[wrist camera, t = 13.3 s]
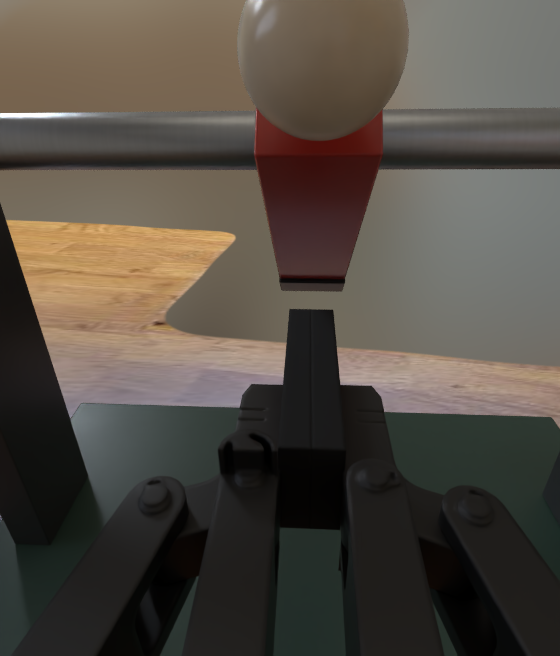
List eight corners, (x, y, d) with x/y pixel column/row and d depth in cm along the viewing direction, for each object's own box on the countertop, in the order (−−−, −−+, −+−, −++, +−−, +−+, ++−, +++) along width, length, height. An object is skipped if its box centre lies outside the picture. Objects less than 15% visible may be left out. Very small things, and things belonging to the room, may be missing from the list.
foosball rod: (16, 295, 23) (-562, 77, 8) (25, 227, 24) (-496, -99, 8) (543, 302, 21) (1140, 48, 6) (538, 230, 22) (1072, -167, 7)
